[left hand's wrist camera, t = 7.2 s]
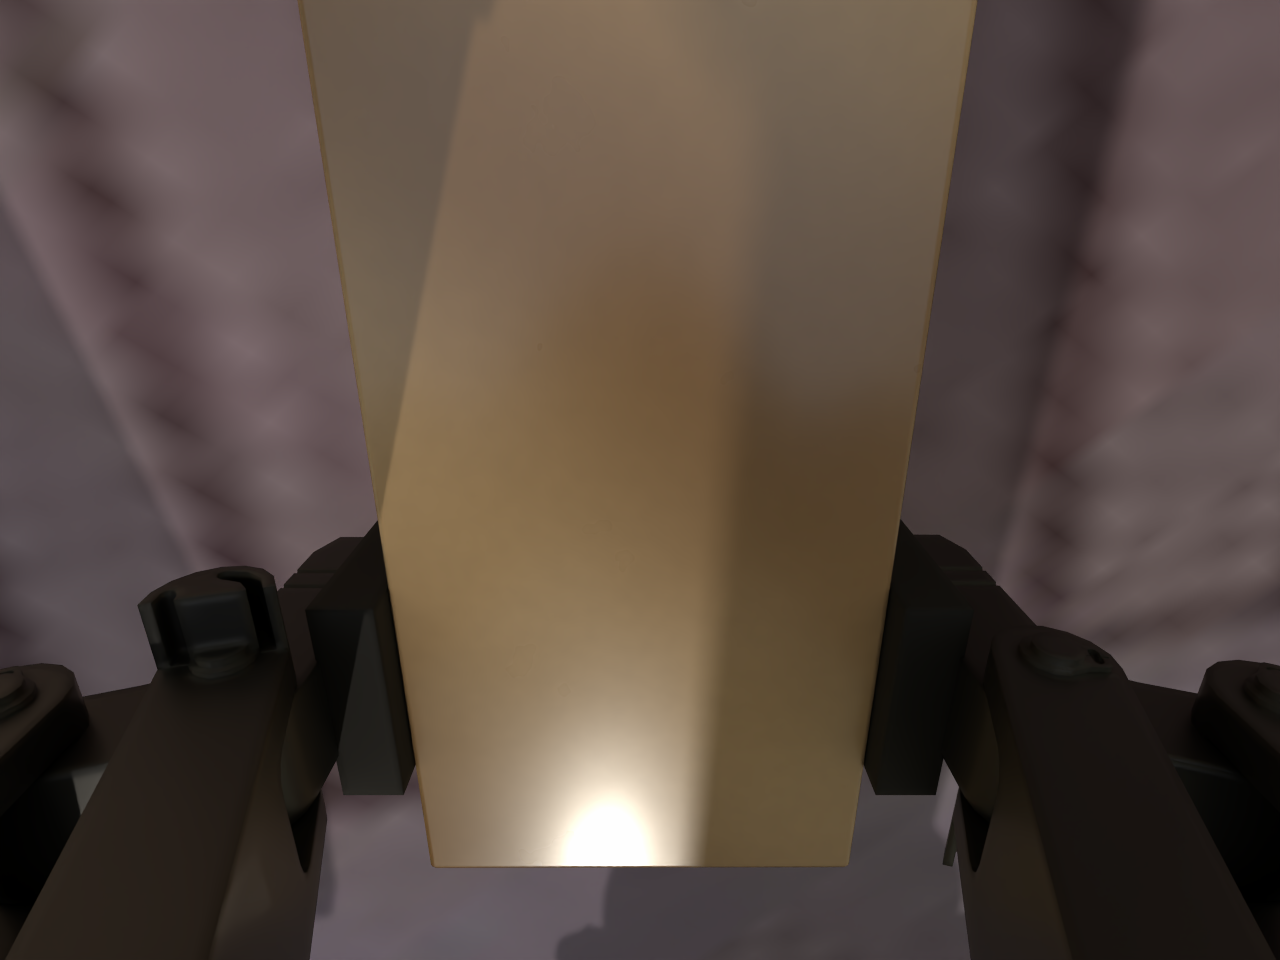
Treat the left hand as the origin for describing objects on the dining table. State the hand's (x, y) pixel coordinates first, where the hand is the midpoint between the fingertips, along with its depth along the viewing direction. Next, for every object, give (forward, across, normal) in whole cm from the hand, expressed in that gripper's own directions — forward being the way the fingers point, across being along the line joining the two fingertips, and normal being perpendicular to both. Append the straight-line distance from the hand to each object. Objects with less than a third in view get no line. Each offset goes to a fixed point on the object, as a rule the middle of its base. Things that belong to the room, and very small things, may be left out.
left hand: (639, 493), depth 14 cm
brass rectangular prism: (+3, 0, -6) cm, 7 cm away
